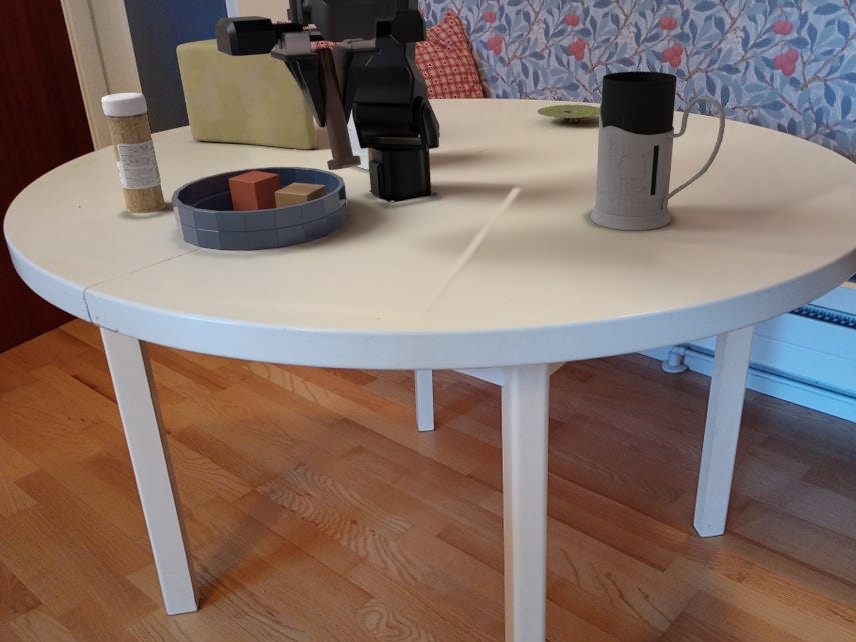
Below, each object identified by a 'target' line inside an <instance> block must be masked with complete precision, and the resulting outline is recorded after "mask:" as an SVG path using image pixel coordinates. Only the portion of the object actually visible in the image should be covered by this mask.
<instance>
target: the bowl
mask: <svg viewBox="0 0 856 642" xmlns="http://www.w3.org/2000/svg"><path fill="white" fill-rule="evenodd" d="M251 171H259V172H266V173H273V174H279V178H280V185H281V189H282V188H285V187H287V186H289V185H291V184H293V183H305V184H317V185H326V191H327V195H325V196H323V197H321V198H319V199H315V200H312V201H308V202H305V203H301V204H297V205H292V206H286V207H280V208H275V209H265V210H253V211H234V208H233V202H232V196H231V190H230V184H229V178H232V177H236V176H239V175H242V174H245V173H248V172H251ZM346 191H347V190H346V183H345V181H344V177H342V176H340V175H339V174H337V173H335V172H333V171H330V170H329V171H328V170H324V169H319V168H314V167H304V166H303V167H302V166H267V167H253V168H245V169H239V170H232V171H225V172H221V173H216V174H213V175H208V176H203V177H201V178H197V179H195V180H193V181H190V182H187V183H185V184H183V185H182V186H180V187H179V188H177V189H175V190H174V191H173V194H172V195H171V198H170V199H171V200H170V201H171V204H172V209H173V214H174V218H175V224H176V228H177V234H178V236H180V237H181V239H182V240H183V241H184V242H186V243H190V244H191V245H194V246H197V247H199V248H206V249H213V250H220V251H221V250H222V251H254V250H265V249H275V248H282V247H287V246H292V245H293V246H294V245H297V244H302V243H307V242H310V241H314V240H316V239H319V238H322V237H326V236H328V235H330V234H332V233H333V232H335V231H337V230H339V229H341V228H342V227H343V226H344V224H345V223H346V222H347V221H348V219H349V213H348V202H347V192H346Z"/></svg>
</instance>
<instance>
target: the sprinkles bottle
mask: <svg viewBox="0 0 856 642" xmlns="http://www.w3.org/2000/svg"><path fill="white" fill-rule="evenodd" d="M101 106H102V111H103V114H104V115H105V118H106V120H107V125H108V130H109V133H110V139H111V142H112V147H113V153H114V157H115V158H114V159H115V163H116V168H117V172H118V176H119V177H118V178H119V180H120V185H121V187H122V192H123V196H124V200H125V205H126V212H127V213H131V214H149V213H153V212H157V211H160V210H163V209H164V208H166V207H167V204H166V202H165V198H164V193H163V190H162V179H161V174H160V171H159V165H158V160H157V155H156V150H155V145H154V141H153V137H152V133H151V129H150V125H149V124H150V123H149V119H148V112H147V111H148V105H147V101H146V98H145V95H144V94H143V93H140V92H119V93H113V94H108V95H104V96H102V97H101Z"/></svg>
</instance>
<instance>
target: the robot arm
mask: <svg viewBox="0 0 856 642" xmlns="http://www.w3.org/2000/svg"><path fill="white" fill-rule="evenodd" d="M288 6H289V8H286V14H287V22H275V23H274V22H273V21H272V18H268V17H264V16H259V15H250V16H234V17H233V16H232V17H220V18H219V19H218V21H217V22H216V24H215V26H214V27H215V29H214V33H215V39H216V40H217V47H218V51H220V52H223V53H226V54H228V55H231V56H247V55H259V54H269V53H271V57H273V58H276V59H279V60H282V61H283V62H284V63H285V65H286V66H287V68H288V69H289V71H290V73H291V74H292V76H293V77H294V79H295V81H296V82H297V84H298V86H299V88H300V90H301V91H302V94H303V96H304V98H305V100H306V102H307V104H308V106H309V108H310V110H311V112H312V114H313V119H314V120H315V122H316V124H317V126H318V127H319V128H321V129H325V128H326V124H325V110H324V104H323V98H322V93H321V87H320V81H319V76H318V62H319V54H315V53H312V52H311V51H312V47H311V43H314V42H329V43H338V45H332V46H331V49H332V53H333V58H334V63H335V68H336V73H337V78H338V83H339V88H340V93H341V98H342V103H343V108H344V112H345V117H346V122H347V125H348V123H349V119H350V115H351V111H352V116H353V121H354V125H355V129H356V133H357V137H358V141H359V145H360V148H361V149H365V148H371V153H372V160H370V161H369V170H368V171H369V173H368V174H369V183H370V184H369V185H370V190H369V192H370V193H371V194H372V195H373V196H375V197H376V198H378V199H380V200H384V201H386V202H388V203H391V204H392V203H399V202H404V201H409V200H410V201H411V200H415V199H420V198H426V197H431V196H436V195H438V194H439V193H438V192H437V191H435V190H432V179H431V178H432V177H431V162H430V161H431V160H430V159H431V158H430V150H434V149H438V148H440V138H441V137H440V136H441V133H440V123H439V120H438V119H437V116H436V114H435V111H434V110H433V107H432V104H431V103H430V99H429V98H428V85H427V83H426V81H425V78H424V77H423V74H422V73H421V71H420V69H419V67H418V65H417V63H416V49H417V48H416V47H417V43H422V42H427V41H428V38H427V37H428V35H427V22H426V19H425V17H424V15H423V14H422V13H421V11H420V10H419V0H288ZM288 21H289V22H288ZM310 25H313V26H315V27H309V26H310ZM273 48H275V50H274V51H272V49H273Z"/></svg>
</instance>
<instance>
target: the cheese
mask: <svg viewBox="0 0 856 642" xmlns="http://www.w3.org/2000/svg"><path fill="white" fill-rule="evenodd" d="M274 50H275V48H273V49H272V51H274ZM176 56H177V62H178V68H179V73H180V79H181V84H182V90H183V94H184V101H185V106H186V111H187V117H188V118H187V119H188V123H189V129H190V133H191V137H192V140H193V141H197V142H212V143H231V144H242V145H243V144H245V145H254V146H255V145H257V146H264V147H265V146H267V147H275V148H284V149H285V148H286V149H296V150H311V149H314V148H316V147H317V138H316V137H317V136H316V128H315V121H314V120H315V119H314V116H313V114H312V112H311V110H310V108H309V106H308V104H307V102H306V100H305V98H304V96H303V94H302V91H301V90H300V88H299V86H298V84H297V82H296V81H295V79H294V77H293V76H292V74H291V73H290V71H289V69H288V68H287V66H286V65H285V63H284V62H283V61H282V60H279V59H276V58H273V57H271V53H269V54H259V55H247V56H231V55H228V54H226V53H223V52H220V51H218V47H217V40H216V38H213V39H212V38H211V39H206V40H197V41H192V42H185V43H182V44H179V45H177V46H176Z"/></svg>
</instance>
